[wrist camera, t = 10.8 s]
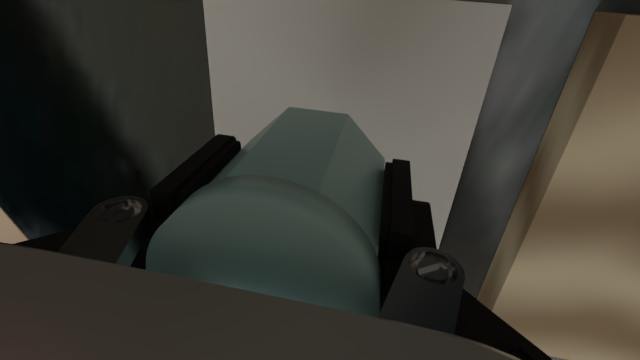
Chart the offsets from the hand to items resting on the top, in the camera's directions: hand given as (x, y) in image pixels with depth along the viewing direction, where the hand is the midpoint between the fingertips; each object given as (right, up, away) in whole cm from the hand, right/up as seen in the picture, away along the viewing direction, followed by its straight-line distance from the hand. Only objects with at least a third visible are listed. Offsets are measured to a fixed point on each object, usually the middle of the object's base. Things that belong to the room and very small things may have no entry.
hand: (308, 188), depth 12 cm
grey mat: (+1, +3, +5) cm, 6 cm away
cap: (0, 0, +1) cm, 1 cm away
